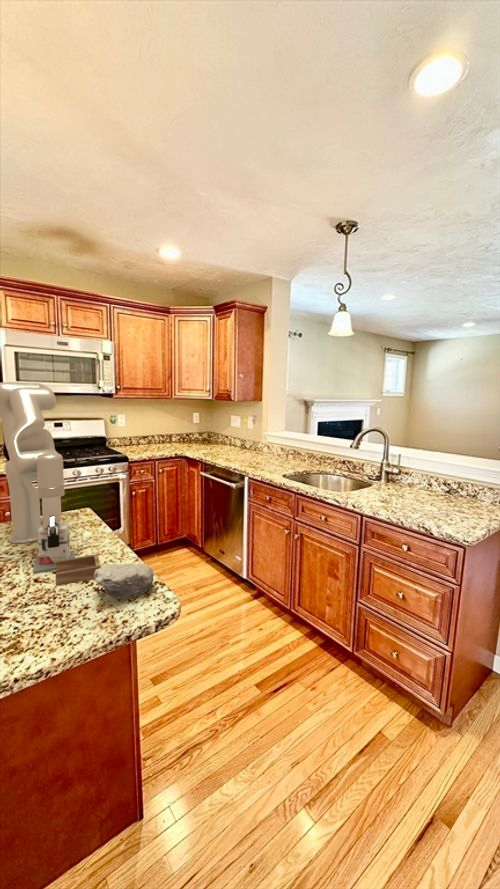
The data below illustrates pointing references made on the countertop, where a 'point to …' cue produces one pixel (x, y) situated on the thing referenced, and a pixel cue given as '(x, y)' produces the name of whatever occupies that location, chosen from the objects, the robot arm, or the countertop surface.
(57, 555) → the ink box
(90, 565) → the cradle
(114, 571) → the rock
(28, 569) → the countertop surface
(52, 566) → the mat
